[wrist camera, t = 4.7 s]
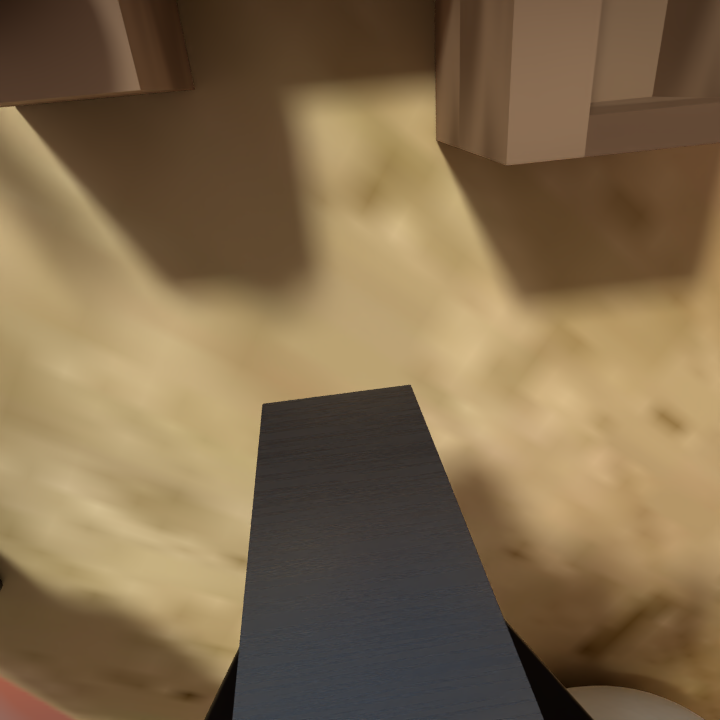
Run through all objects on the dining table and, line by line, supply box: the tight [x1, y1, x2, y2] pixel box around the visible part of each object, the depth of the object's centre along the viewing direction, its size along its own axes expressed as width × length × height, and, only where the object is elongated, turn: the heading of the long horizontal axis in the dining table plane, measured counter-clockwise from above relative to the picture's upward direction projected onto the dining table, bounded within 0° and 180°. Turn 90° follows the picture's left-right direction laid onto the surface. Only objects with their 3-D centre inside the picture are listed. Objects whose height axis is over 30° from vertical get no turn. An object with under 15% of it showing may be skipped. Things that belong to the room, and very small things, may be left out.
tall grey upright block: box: [232, 385, 544, 720], centre depth 7 cm, size 6×2×6 cm, turn 5°
